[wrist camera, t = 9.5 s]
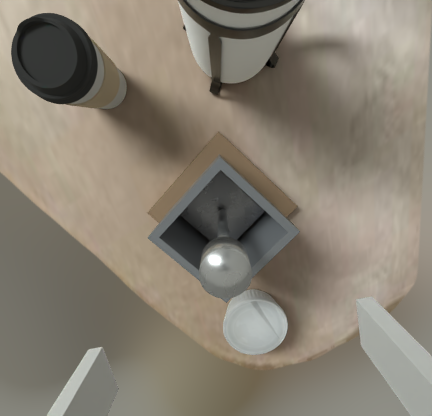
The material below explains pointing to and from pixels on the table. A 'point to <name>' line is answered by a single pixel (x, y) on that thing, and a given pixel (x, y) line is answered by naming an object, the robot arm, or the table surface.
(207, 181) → the square grey bin
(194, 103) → the table surface
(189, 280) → the table surface
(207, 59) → the coffee press
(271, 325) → the ramekin
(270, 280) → the table surface
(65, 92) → the coffee cup
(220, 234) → the plunger
